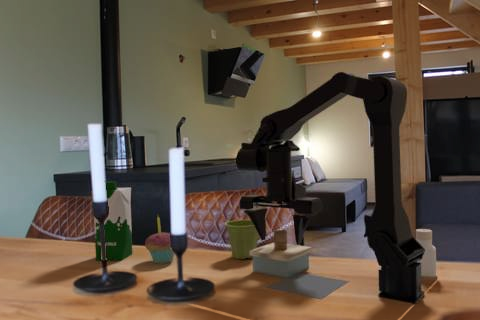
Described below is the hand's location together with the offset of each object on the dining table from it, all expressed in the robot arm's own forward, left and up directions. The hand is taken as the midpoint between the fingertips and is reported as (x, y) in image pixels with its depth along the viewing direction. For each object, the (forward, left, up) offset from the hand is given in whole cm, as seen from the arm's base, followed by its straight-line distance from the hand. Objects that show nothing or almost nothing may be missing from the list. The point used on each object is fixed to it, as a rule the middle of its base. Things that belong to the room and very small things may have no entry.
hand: (280, 242), depth 97 cm
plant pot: (+15, -6, -7) cm, 17 cm away
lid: (0, 0, -2) cm, 3 cm away
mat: (-10, +6, -6) cm, 13 cm away
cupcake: (+30, +8, -7) cm, 32 cm away
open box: (0, 0, -6) cm, 6 cm away
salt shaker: (-27, -13, -7) cm, 31 cm away
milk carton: (+44, +12, -7) cm, 46 cm away
